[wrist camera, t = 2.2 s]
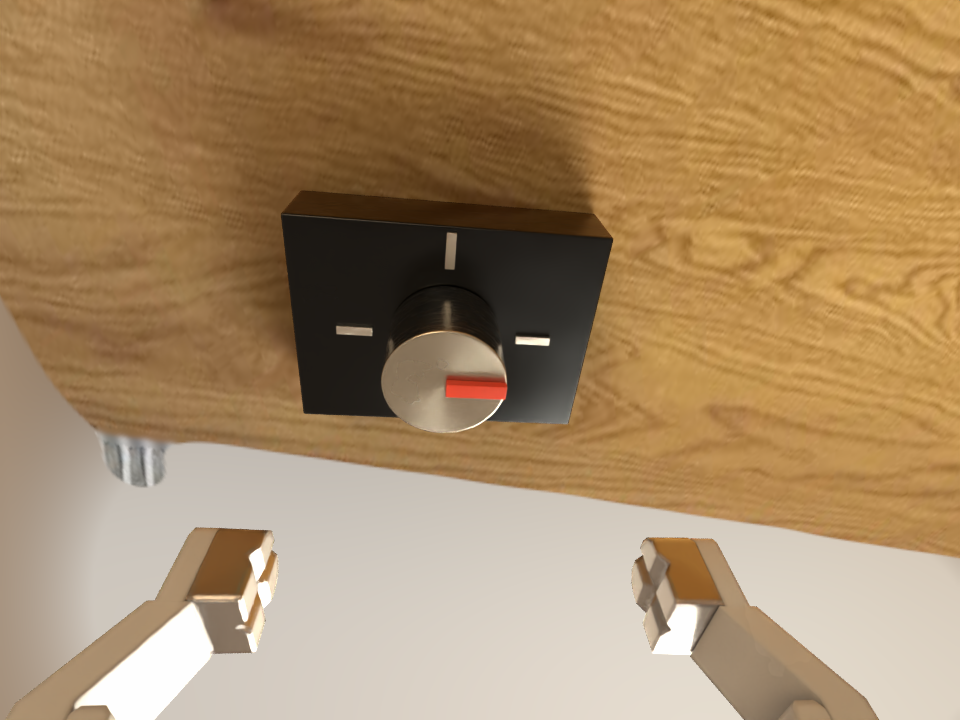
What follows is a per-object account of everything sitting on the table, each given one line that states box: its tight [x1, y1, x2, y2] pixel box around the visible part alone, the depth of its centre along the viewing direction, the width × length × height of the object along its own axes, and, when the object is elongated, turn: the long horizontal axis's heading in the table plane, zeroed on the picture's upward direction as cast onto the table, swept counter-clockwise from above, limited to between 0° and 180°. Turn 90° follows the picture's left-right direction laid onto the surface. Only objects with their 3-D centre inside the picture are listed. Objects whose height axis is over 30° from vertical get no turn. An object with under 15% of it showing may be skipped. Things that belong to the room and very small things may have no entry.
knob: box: [381, 286, 507, 433], centre depth 19 cm, size 4×4×4 cm
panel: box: [281, 191, 613, 424], centre depth 22 cm, size 12×9×3 cm
